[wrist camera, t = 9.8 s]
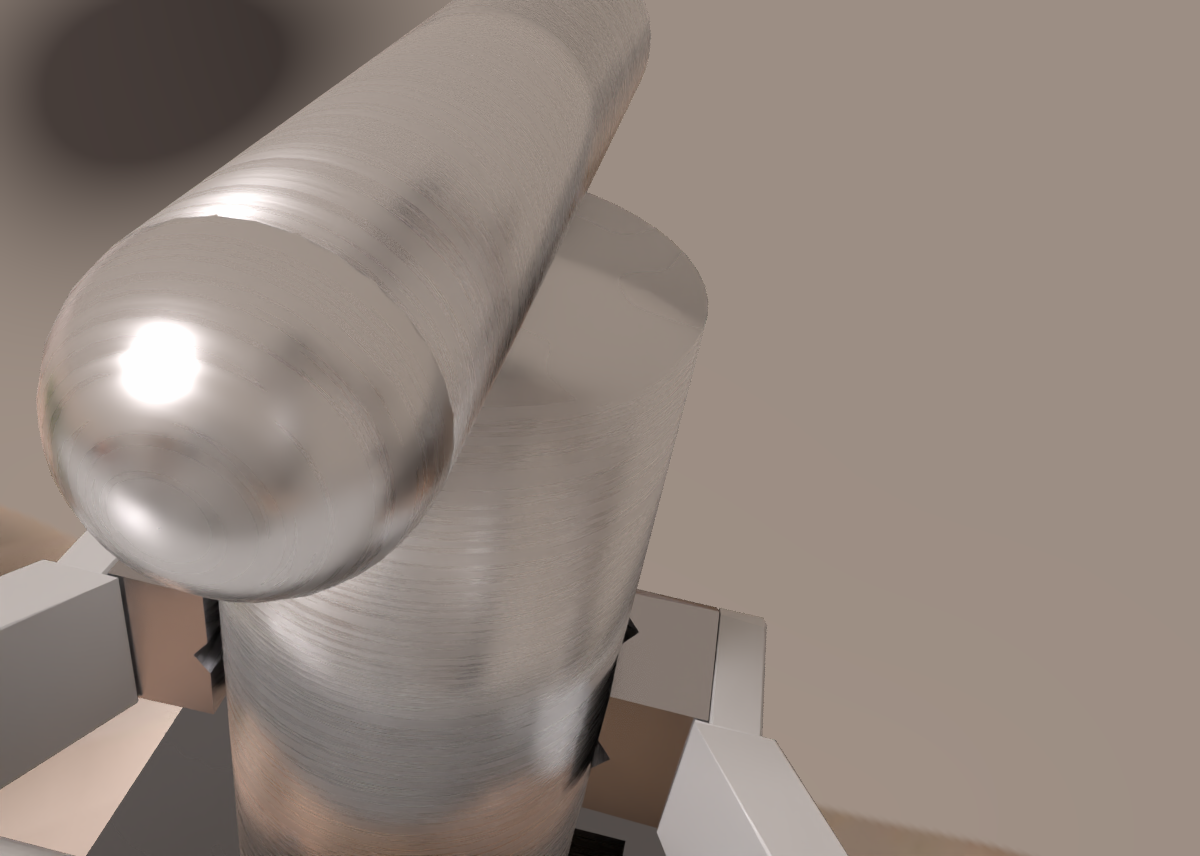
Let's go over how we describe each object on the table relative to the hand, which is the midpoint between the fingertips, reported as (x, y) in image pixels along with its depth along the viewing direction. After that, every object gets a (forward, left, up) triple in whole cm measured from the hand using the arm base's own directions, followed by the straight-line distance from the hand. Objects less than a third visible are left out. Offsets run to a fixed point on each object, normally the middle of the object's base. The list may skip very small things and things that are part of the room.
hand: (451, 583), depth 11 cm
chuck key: (+1, +1, -7) cm, 8 cm away
